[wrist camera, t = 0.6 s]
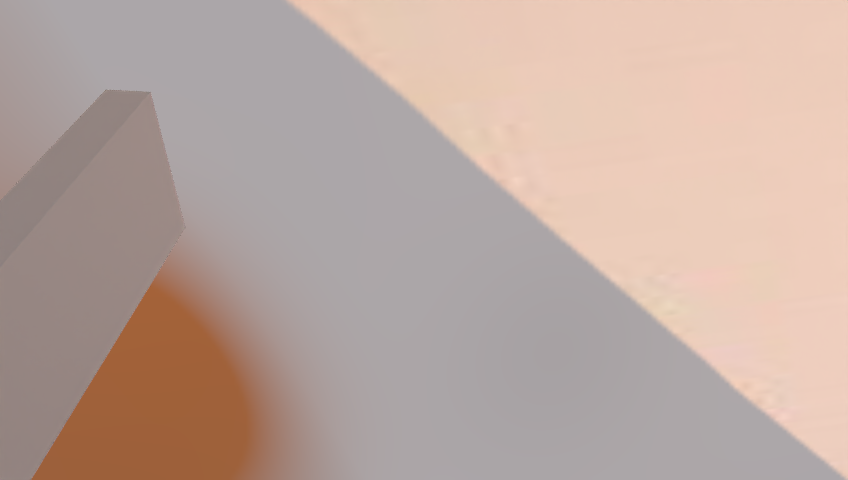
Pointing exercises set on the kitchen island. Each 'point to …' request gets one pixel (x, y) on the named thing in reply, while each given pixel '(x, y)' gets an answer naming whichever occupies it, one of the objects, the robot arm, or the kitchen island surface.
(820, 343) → the kitchen island surface
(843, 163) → the kitchen island surface
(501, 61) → the kitchen island surface
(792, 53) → the kitchen island surface
